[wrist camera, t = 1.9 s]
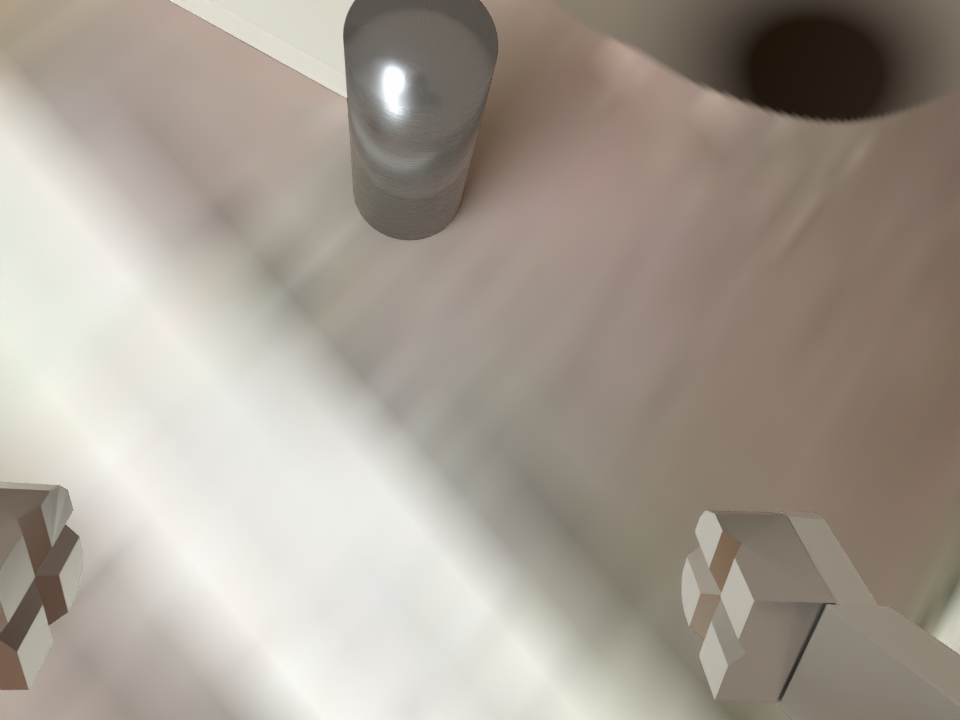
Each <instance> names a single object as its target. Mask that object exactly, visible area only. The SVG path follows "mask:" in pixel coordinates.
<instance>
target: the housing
mask: <svg viewBox="0 0 960 720" xmlns="http://www.w3.org/2000/svg"><path fill="white" fill-rule="evenodd" d="M170 1H172V2H173V3H175V4H177V5H179V6H181V7H182V8H184V9H186V10H188V11H190V12H191V13H193V14H195V15H197V16H199V17H200V18H202V19H204V20H206V21H208V22H209V23H211V24H213V25H215V26H217V27H219V28H220V29H222V30H224V31H226V32H228V33H229V34H231V35H233V36H235V37H237V38H238V39H240V40H242V41H244V42H246V43H247V44H249V45H251V46H253V47H255V48H256V49H258V50H260V51H262V52H264V53H265V54H267V55H269V56H271V57H273V58H274V59H276V60H278V61H280V62H282V63H284V64H285V65H287V66H289V67H291V68H293V69H294V70H296V71H298V72H300V73H302V74H303V75H305V76H307V77H309V78H311V79H312V80H314V81H316V82H318V83H320V84H321V85H323V86H325V87H327V88H329V89H330V90H332V91H334V92H336V93H338V94H340V95H341V96H343V97H345V98H347V88H346V73H345V58H344V44H343V29H344V23H345V19H346V16H347V14H348V11H349V9H350V7H351V5H352V4H353V2H354V1H355V0H170Z"/></svg>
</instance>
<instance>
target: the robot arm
mask: <svg viewBox="0 0 960 720" xmlns="http://www.w3.org/2000/svg"><path fill="white" fill-rule="evenodd" d="M72 511H73V507H72V503H71V500H70V496H69V493H68V490H67V489H65V488H63V487H62V486H60V485H46V484H29V483H13V482H0V690H29V688H30V686H31V684H32V682H33V680H34V678H35V677H36V675H37V673H38V671H39V669H40V667H41V665H42V663H43V661H44V659H45V657H46V655H47V653H48V651H49V649H50V647H51V645H52V643H53V640H52V637H51V633H50V629H49V625H50V624H52V623H53V622H55V621H56V620H58V619H59V618H60V617H62V616H63V615H65V614H66V613H67V612H68V611H69V609H70V607H71V605H72V603H73V601H74V599H75V597H76V594H77V592H78V588H79V583H80V579H81V575H82V570H83V551H82V546H81V541H80V537H79V536H78V535H77V534H76V533H75V532H74V531H72V530H71V529H70V528H69V527H68V526H67V525H65V524H66V522H67V520H68V519H69V517H70V515H71V513H72ZM695 534H696V536H697V539H698V541H699V544H700V547H699V548H697V549H696V550H695V551H694V552H692V553H691V554H690V555H688V556H687V559H686V562H685V566H684V570H683V573H682V593H681V596H682V602H683V608H684V612H685V615H686V618H687V622H688V625H689V627H690V628H691V629H692V630H693V631H694V632H695V633H697V634H698V635H699V636H700V637H701V638H702V639H703V640H704V643H703V646H702V649H701V652H700V654H699V657H700V660H701V662H702V665H703V668H704V671H705V674H706V677H707V679H708V682H709V685H710V688H711V691H712V694H713V696H714V699H715V700H721V701H744V702H767V703H780V705H779V707H780V708H781V709H782V710H783V711H784V712H785V713H786V714H787V716H788V717H789V718H790V719H791V720H960V655H959V654H958V653H956V652H955V651H953V650H952V649H950V648H949V647H948V646H946V645H945V644H943V643H942V642H940V641H939V640H937V639H936V638H935V637H933V636H932V635H930V634H929V633H927V632H926V631H924V630H923V629H922V628H920V627H919V626H917V625H916V624H914V623H913V622H911V621H910V620H909V619H907V618H906V617H904V616H903V615H901V614H900V613H898V612H897V611H896V610H894V609H893V608H891V607H889V606H878V604H877V603H876V601H875V600H874V598H873V596H872V595H871V593H870V592H869V590H868V588H867V587H866V585H865V584H864V582H863V580H862V579H861V577H860V576H859V574H858V572H857V571H856V569H855V568H854V566H853V564H852V563H851V561H850V559H849V558H848V556H847V555H846V553H845V552H844V550H843V548H842V547H841V545H840V543H839V542H838V540H837V539H836V537H835V535H834V534H833V532H832V531H831V529H830V527H829V526H828V524H827V523H826V521H825V520H824V518H823V517H821V516H820V515H818V514H817V513H814V512H778V513H775V512H749V511H717V510H706V511H705V512H704V513H703V514H702V516H701V517H700V519H699V522H698V525H697V527H696V530H695Z"/></svg>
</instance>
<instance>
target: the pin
mask: <svg viewBox="0 0 960 720" xmlns="http://www.w3.org/2000/svg"><path fill="white" fill-rule="evenodd" d="M343 44H344V58H345V73H346V88H347V103H348V118H349V132H350V147H351V162H352V177H353V191H354V198H355V202H356V205H357V208H358V210H359V211H360V213H361V215H362V216H363V218H364V219H365V220H366V221H367V222H368V223H369V224H370V225H371V226H372V227H373V228H374V229H376V230H377V231H379V232H380V233H382V234H384V235H387V236H389V237H392V238H396V239H401V240H418V239H424V238H427V237H430V236H432V235H434V234H436V233H438V232H440V231H441V230H443V229H444V228H445V227H446V226H447V225H448V224H449V223H450V222H451V221H452V220H453V218H454V217H455V215H456V213H457V211H458V209H459V206H460V203H461V199H462V195H463V191H464V187H465V183H466V179H467V175H468V171H469V167H470V163H471V159H472V155H473V151H474V147H475V143H476V139H477V135H478V131H479V127H480V123H481V119H482V115H483V111H484V107H485V103H486V99H487V95H488V92H489V88H490V84H491V80H492V76H493V72H494V68H495V64H496V59H497V54H498V39H497V32H496V29H495V25H494V23H493V20H492V18H491V16H490V14H489V13H488V11H487V9H486V8H485V6H484V5H483V4H482V3H481V1H480V0H355V1H354V2H353V4H352V5H351V7H350V9H349V11H348V14H347V16H346V19H345V23H344V29H343Z"/></svg>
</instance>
